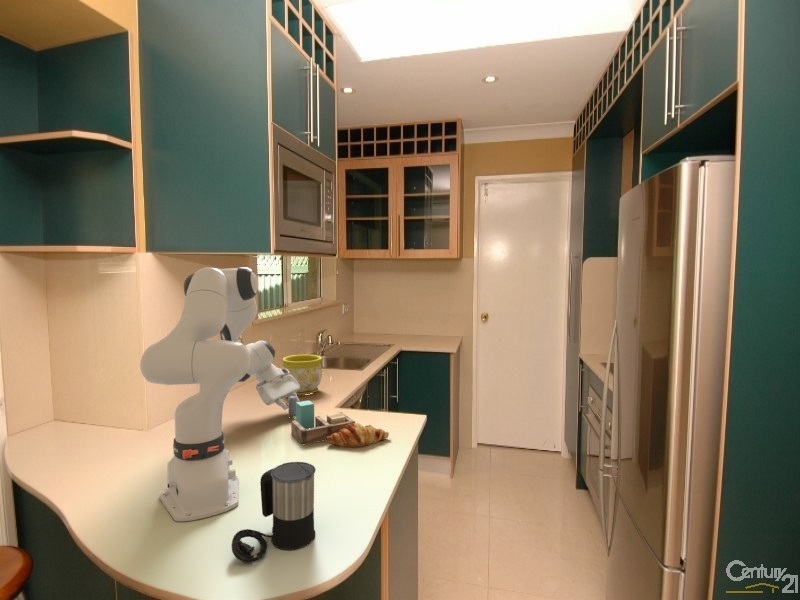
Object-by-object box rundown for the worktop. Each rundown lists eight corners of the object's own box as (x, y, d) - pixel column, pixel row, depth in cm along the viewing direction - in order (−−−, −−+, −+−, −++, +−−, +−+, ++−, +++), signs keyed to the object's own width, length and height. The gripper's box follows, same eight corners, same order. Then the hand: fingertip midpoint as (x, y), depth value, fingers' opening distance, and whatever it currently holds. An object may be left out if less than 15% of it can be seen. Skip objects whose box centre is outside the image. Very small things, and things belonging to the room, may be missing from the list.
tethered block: (314, 428, 160) (314, 403, 159) (301, 430, 157) (300, 406, 157) (297, 415, 174) (297, 392, 174) (285, 417, 172) (284, 394, 171)
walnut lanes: (355, 434, 154) (355, 421, 154) (302, 444, 144) (302, 431, 144) (341, 423, 165) (341, 412, 164) (291, 433, 155) (291, 420, 154)
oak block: (345, 433, 155) (345, 416, 155) (332, 436, 152) (332, 419, 152) (339, 429, 159) (339, 412, 159) (326, 431, 157) (326, 415, 156)
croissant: (386, 446, 153) (383, 422, 156) (394, 442, 144) (391, 417, 147) (324, 452, 146) (323, 427, 150) (329, 448, 138) (327, 422, 141)
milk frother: (323, 528, 98) (322, 463, 97) (287, 576, 82) (286, 499, 81) (266, 519, 101) (265, 456, 100) (221, 562, 86) (220, 489, 85)
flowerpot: (306, 399, 195) (305, 363, 194) (274, 394, 203) (274, 359, 202) (329, 390, 211) (329, 356, 210) (299, 385, 219) (299, 353, 218)
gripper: (258, 379, 163) (281, 408, 161) (289, 368, 183) (310, 393, 180) (249, 390, 165) (271, 419, 162) (280, 378, 184) (301, 403, 182)
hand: (292, 405), depth 171 cm, fingers open, 6 cm apart
